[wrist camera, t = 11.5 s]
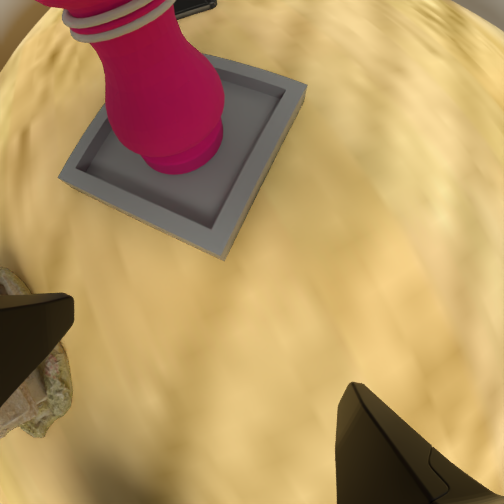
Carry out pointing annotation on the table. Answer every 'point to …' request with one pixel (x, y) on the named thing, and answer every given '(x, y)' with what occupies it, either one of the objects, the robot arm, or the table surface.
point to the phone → (192, 7)
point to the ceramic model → (36, 383)
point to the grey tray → (204, 178)
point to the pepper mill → (151, 80)
